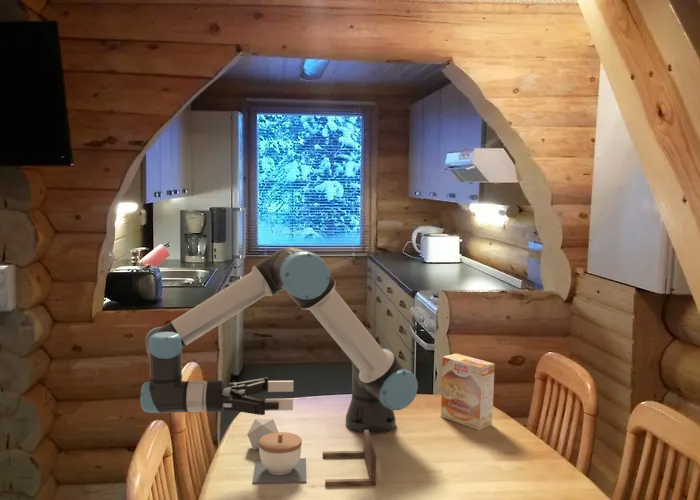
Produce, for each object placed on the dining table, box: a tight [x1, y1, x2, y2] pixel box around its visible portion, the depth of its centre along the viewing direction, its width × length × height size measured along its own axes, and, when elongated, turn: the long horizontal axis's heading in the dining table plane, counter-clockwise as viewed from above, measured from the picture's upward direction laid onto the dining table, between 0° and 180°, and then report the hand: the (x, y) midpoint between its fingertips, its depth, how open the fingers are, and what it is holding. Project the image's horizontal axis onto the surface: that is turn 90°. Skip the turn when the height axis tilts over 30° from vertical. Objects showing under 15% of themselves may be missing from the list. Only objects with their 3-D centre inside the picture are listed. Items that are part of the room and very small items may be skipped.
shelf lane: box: [322, 430, 377, 488], centre depth 161 cm, size 12×17×7 cm
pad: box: [252, 457, 307, 485], centre depth 160 cm, size 13×13×1 cm
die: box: [247, 418, 279, 451], centre depth 174 cm, size 8×9×10 cm
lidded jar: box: [258, 431, 303, 475], centre depth 159 cm, size 11×11×9 cm
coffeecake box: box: [440, 353, 496, 431], centre depth 196 cm, size 15×7×20 cm, turn 42°
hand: (293, 394), depth 158 cm, fingers open, 13 cm apart
